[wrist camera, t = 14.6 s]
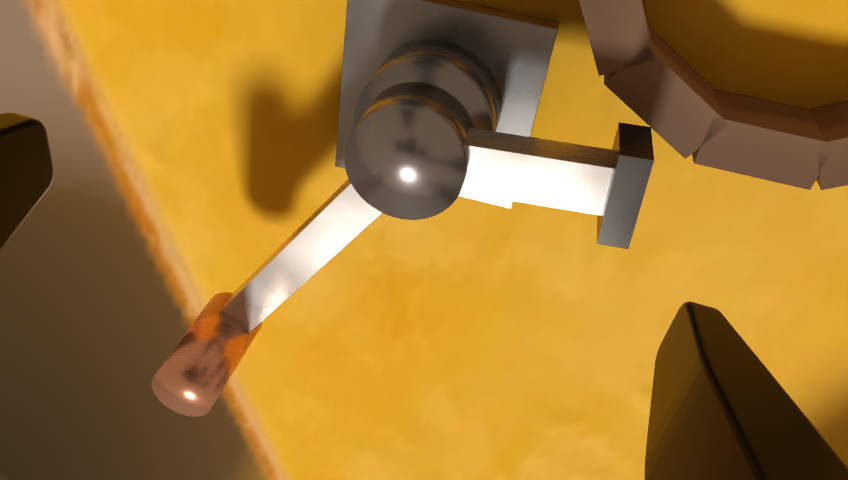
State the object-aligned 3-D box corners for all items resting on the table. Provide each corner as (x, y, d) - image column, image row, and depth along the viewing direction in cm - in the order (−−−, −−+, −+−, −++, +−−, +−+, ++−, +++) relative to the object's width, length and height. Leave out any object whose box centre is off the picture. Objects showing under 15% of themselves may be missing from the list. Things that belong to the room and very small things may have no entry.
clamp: (690, 168, 18) (708, 263, 15) (341, 407, 27) (302, 501, 23) (497, -32, 16) (467, 24, 13) (191, 293, 25) (125, 377, 22)
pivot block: (558, 23, 19) (552, 53, 17) (512, 199, 23) (503, 241, 21) (354, -21, 20) (326, 3, 18) (340, 157, 24) (315, 195, 22)
